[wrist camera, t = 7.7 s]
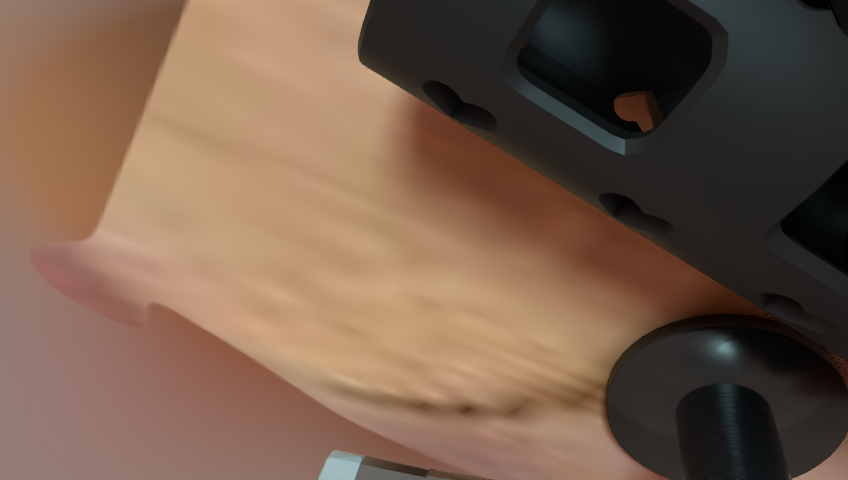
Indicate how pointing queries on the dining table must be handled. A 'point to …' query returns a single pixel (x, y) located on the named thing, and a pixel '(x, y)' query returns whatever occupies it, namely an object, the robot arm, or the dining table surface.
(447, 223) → the dining table surface
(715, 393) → the posts
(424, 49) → the muzzle brake
